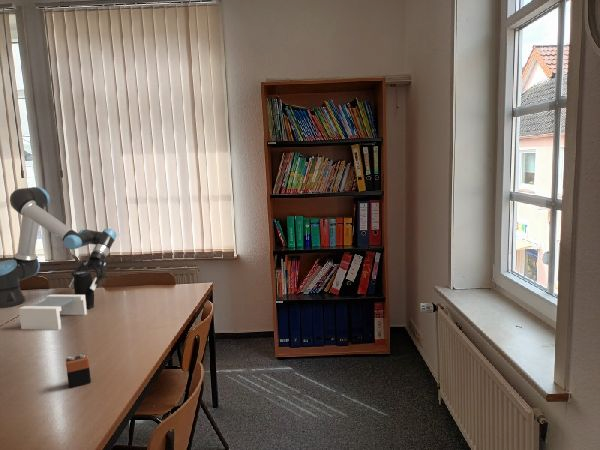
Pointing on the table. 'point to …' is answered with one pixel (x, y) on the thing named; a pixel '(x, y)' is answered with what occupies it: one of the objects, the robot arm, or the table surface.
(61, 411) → the table surface
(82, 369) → the battery
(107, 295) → the table surface
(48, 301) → the square spool
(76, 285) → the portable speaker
